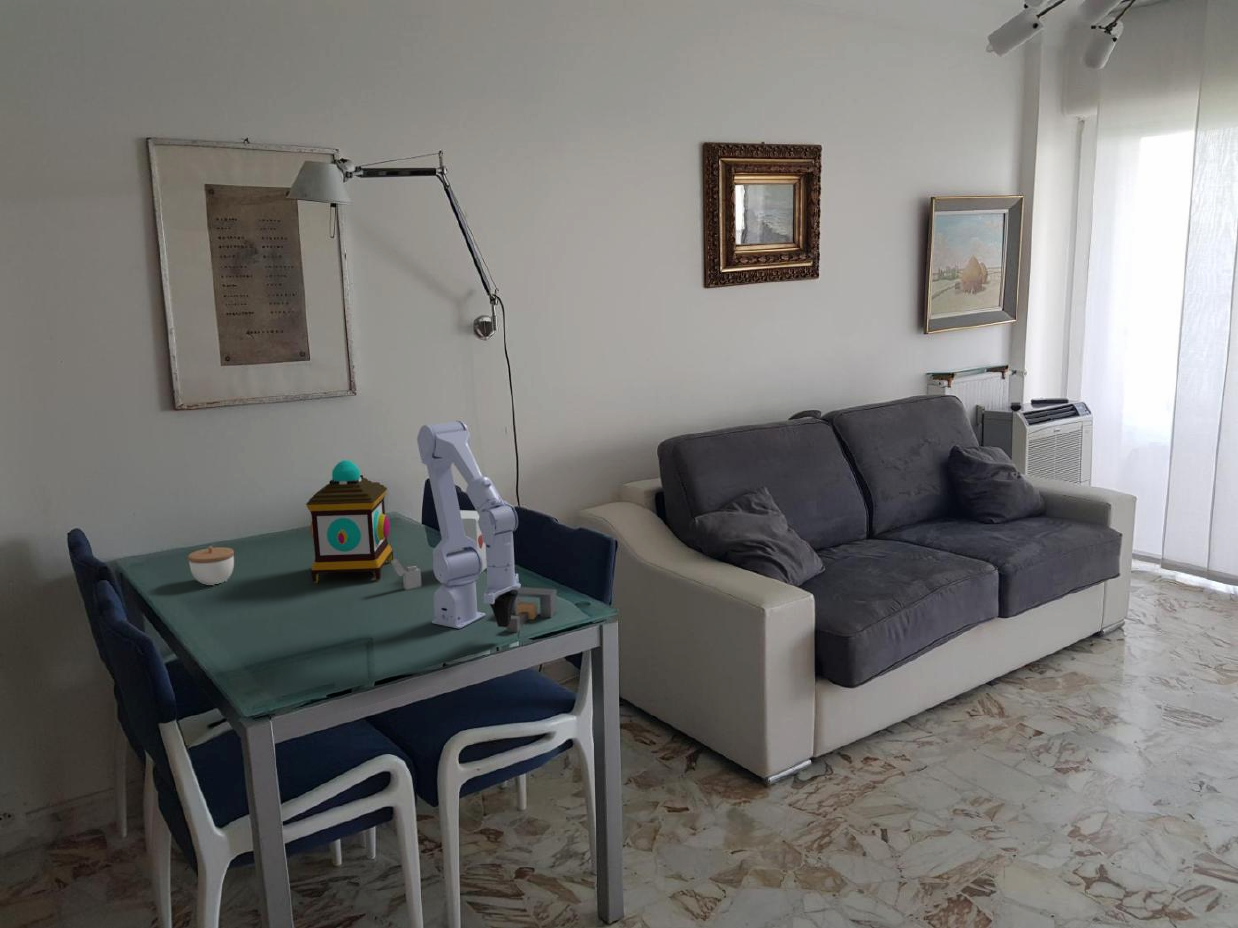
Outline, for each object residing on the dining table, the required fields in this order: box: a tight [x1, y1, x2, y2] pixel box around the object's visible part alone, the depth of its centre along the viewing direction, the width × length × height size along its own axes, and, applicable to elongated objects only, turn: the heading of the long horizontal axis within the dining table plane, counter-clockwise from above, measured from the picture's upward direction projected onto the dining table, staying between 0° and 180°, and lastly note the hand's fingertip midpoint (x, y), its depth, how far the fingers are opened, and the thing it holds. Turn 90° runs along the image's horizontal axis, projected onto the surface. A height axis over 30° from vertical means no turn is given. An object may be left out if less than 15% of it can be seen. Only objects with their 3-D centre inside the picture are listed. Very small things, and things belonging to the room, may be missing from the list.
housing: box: [511, 586, 558, 619], centre depth 215 cm, size 4×11×5 cm, turn 75°
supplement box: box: [447, 509, 487, 573], centre depth 248 cm, size 9×9×15 cm
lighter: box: [390, 558, 422, 591], centre depth 234 cm, size 7×2×8 cm, turn 128°
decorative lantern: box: [305, 459, 394, 584], centre depth 246 cm, size 20×20×30 cm
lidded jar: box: [187, 545, 235, 586], centre depth 243 cm, size 11×11×9 cm
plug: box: [506, 601, 538, 633], centre depth 209 cm, size 10×4×3 cm, turn 165°
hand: (503, 625), depth 199 cm, fingers closed
